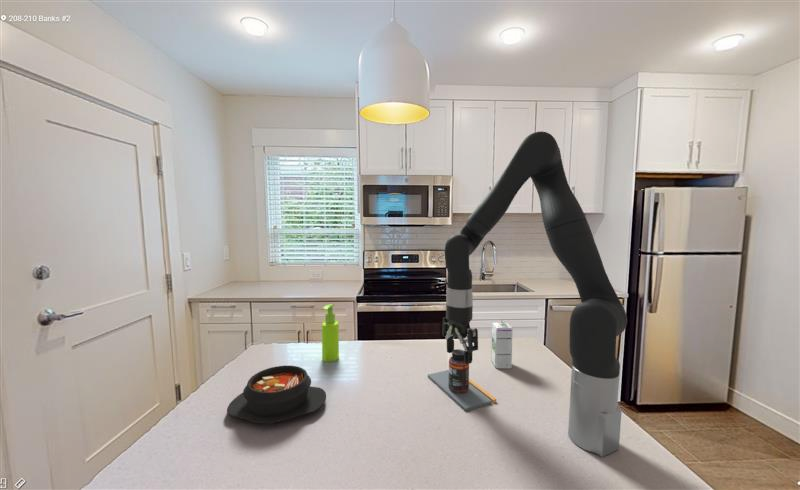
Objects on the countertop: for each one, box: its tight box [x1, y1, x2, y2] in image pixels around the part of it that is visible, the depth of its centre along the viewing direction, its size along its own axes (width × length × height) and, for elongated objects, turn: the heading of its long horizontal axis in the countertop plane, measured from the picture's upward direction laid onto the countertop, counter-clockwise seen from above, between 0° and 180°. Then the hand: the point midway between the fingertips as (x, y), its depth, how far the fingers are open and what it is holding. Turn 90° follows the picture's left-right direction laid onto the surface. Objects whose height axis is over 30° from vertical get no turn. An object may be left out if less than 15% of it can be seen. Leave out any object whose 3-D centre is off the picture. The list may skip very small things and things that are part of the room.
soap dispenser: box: [321, 303, 340, 363], centre depth 114 cm, size 6×7×20 cm
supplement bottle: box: [448, 348, 470, 393], centre depth 93 cm, size 6×6×11 cm
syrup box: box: [490, 321, 513, 370], centre depth 110 cm, size 6×6×14 cm
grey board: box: [427, 369, 497, 412], centre depth 95 cm, size 20×11×1 cm, turn 25°
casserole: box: [226, 365, 327, 424], centre depth 84 cm, size 25×19×8 cm
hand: (458, 357), depth 92 cm, fingers open, 8 cm apart
